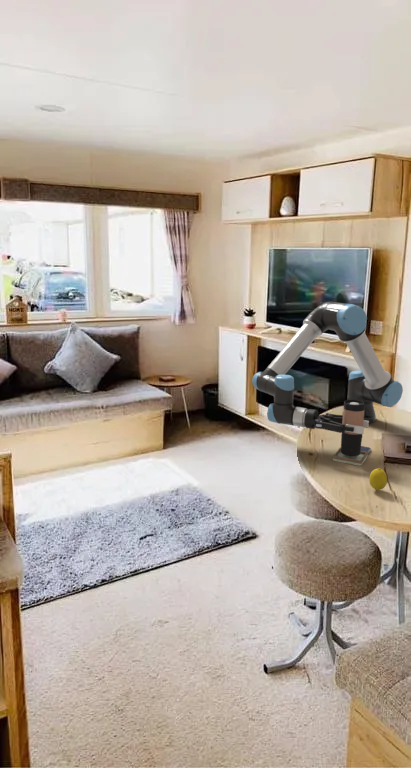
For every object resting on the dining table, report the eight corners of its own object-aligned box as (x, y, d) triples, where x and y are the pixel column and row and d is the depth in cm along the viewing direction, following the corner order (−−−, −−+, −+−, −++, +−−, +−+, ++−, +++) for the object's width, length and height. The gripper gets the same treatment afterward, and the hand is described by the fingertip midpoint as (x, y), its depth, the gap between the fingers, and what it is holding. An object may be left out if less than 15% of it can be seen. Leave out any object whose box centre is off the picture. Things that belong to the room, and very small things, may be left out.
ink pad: (345, 446, 225) (345, 442, 225) (370, 450, 221) (370, 447, 221) (340, 451, 219) (340, 448, 219) (366, 456, 214) (366, 453, 214)
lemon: (366, 491, 184) (368, 468, 182) (371, 485, 188) (373, 463, 186) (383, 495, 181) (385, 472, 179) (387, 489, 185) (390, 467, 183)
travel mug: (335, 452, 212) (339, 401, 207) (348, 447, 217) (351, 398, 212) (352, 458, 206) (357, 406, 202) (364, 453, 211) (369, 402, 206)
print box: (339, 451, 219) (340, 447, 219) (367, 456, 214) (367, 452, 214) (332, 460, 210) (332, 455, 210) (360, 465, 205) (361, 461, 205)
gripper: (313, 420, 227) (371, 429, 216) (297, 434, 209) (358, 445, 199) (314, 402, 225) (372, 410, 215) (298, 415, 207) (360, 425, 197)
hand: (365, 427), depth 207 cm, fingers closed on travel mug, 7 cm apart
